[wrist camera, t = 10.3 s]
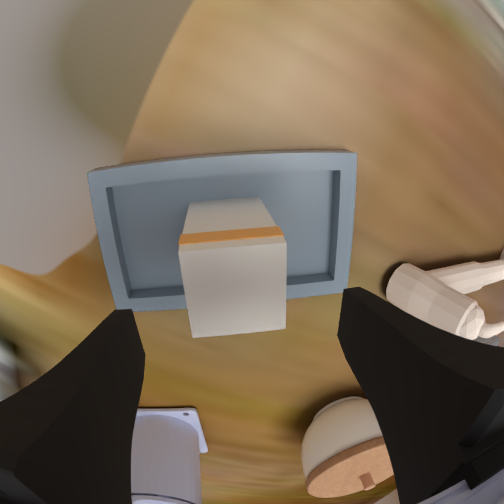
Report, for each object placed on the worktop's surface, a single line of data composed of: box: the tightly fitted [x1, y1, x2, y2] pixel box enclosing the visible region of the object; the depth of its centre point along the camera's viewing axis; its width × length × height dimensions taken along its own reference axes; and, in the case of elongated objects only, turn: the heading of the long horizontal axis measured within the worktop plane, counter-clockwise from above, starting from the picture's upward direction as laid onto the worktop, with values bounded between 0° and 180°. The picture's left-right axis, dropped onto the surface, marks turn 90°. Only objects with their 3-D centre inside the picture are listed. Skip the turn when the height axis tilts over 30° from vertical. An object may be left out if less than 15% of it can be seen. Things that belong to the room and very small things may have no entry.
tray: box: [87, 150, 357, 312], centre depth 18 cm, size 15×9×2 cm, turn 92°
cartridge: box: [178, 197, 287, 338], centre depth 16 cm, size 4×4×7 cm
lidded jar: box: [301, 396, 394, 498], centre depth 24 cm, size 11×11×9 cm
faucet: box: [386, 249, 504, 340], centre depth 21 cm, size 4×18×10 cm, turn 94°
